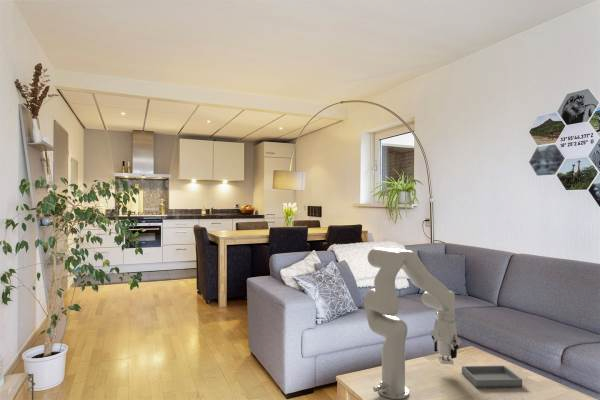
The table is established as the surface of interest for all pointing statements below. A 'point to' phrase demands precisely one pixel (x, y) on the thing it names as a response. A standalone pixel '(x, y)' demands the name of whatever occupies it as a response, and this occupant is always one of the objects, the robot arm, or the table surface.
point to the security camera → (444, 352)
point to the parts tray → (491, 377)
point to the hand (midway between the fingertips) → (445, 354)
